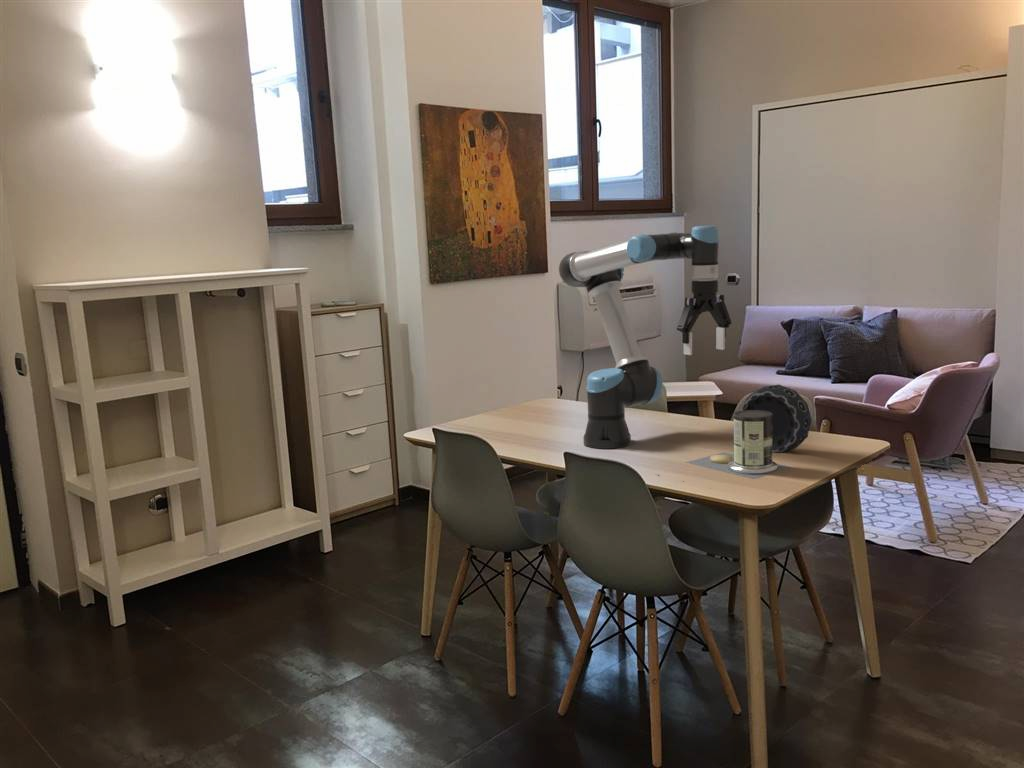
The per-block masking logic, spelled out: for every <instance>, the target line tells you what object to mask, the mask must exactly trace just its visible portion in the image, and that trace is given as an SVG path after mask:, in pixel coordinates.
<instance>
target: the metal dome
mask: <svg viewBox="0 0 1024 768" xmlns="http://www.w3.org/2000/svg"><path fill="white" fill-rule="evenodd" d="M772 463H773V465H772V466H771V467H768V468H763V469H746V468H740V467H737V466H735V465H734V460H733V461H730V462H729V463H728V469H729V470H730V471H732V472H735V473H740V474H750V475H760V474H768V473H772V472H775V471H777V464H778V463H776V462H775V461H773V460H772ZM772 474H773V473H772Z"/></svg>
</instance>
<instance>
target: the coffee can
mask: <svg viewBox="0 0 1024 768" xmlns="http://www.w3.org/2000/svg"><path fill="white" fill-rule="evenodd" d="M732 417H733V454H734V465H735V466H737V467H740V468H746V469H763V468H768V467H771V466H772V465H773V463H772V461H773V452H772V417H773V414H772V413H771V412H768V411H762V410H744V411H740V410H739V411H735V412H733V414H732Z"/></svg>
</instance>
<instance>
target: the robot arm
mask: <svg viewBox="0 0 1024 768" xmlns="http://www.w3.org/2000/svg"><path fill="white" fill-rule="evenodd" d="M719 242H720V239H719V229H718V227H717V226H716V225H698V226H697V225H696V226H692V228H691V232H670V233H659V234H640V235H639V234H638V235H635V236H632V237H631V238H629V240H626V241H621V242H618V243H614V244H611V245H608V246H605V247H601V248H598V249H594V250H588V251H586V250H585V251H581V250H580V251H574V252H570V253H567V254H566V255H565V256H564V257H562V259H561V260H560V263H559V266H558V273H559V277H560V279H561V281H562V282H564V283H565V284H566V285H567V286H569V287H572V288H586V291H587V293H588V295H589V297H591V298H594V300H595V304H596V307H597V309H598V313H599V315H600V318H601V321H602V324H603V328H604V331H605V334H606V336H607V340H608V343H609V346H610V349H611V351H612V355H613V358H614V361H615V367H609V368H602V369H598V370H595V371H593V372H591V373H590V374H588V376H587V379H586V395H587V419H588V420H587V423H586V427H585V428H586V429H585V432H584V435H583V445H584V446H585V447H588V448H595V449H616V448H618V449H619V448H623V447H627V446H629V445H631V443H632V436H631V433H630V430H629V428H628V424H627V422H626V417H625V414H626V413H625V409H626V408H630V407H635V406H639V405H643V406H645V405H647V404H649V403H653V402H655V401H656V400H658V398H659V397H660V395H661V392H662V390H663V377H662V375H661V373H660V371H659V370H658V369H657V368H656V367H654V366H650V365H651V364H650V363H649V360H648V358H646V357H643V356H642V353H641V351H640V348H639V344H638V342H637V339H636V336H635V333H634V330H633V327H632V325H631V321H630V317H629V315H628V312H627V309H626V306H625V304H624V303H625V302H624V300H623V297H622V294H621V292H620V289H621V287H622V284H623V283H622V280H623V277H624V275H625V274H624V272H625V268H628V267H630V266H635V265H639V264H644V263H648V262H652V261H653V262H654V261H665V260H678V259H682V260H683V259H687V260H688V259H690V260H691V279H693V280H692V281H691V293H692V295H693V297H685V299H684V307H683V308H682V312H681V315H680V318H679V321H678V323H677V326H676V330H677V331H679V333H680V332H681V333H682V335H681V336H682V338H681V339H682V341H681V342H682V344H683V355H687V356H692V355H693V332H691V331H692V329H693V327H694V325H695V324H696V323H697V320H698V318H699V317H700V315H702V313H707V312H709V313H710V315H711V316H712V319H713V320H714V321H715V323H716V325H717V326H718V327H716V329H715V332H716V333H715V336H716V337H715V339H716V340H715V341H716V342H715V344H716V345H715V349H716V350H721V351H724V350H725V349H726V346H725V345H726V337H727V329H728V328H729V327H730V326H731V325H732V320H731V317H730V314H729V312H728V309H727V306H726V302H725V295H724V294H717V293H718V292H719V281H718V280H717V279H718V278H719Z"/></svg>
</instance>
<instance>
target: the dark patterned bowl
mask: <svg viewBox="0 0 1024 768" xmlns="http://www.w3.org/2000/svg"><path fill="white" fill-rule="evenodd" d="M744 410H762V411H768V412H771V413H772V414H773V417H772V453H785V452H786V453H787V452H790V451H793V450H795V449H797V448H798V447H799V446H800V445H802V443H803V442H804V441H805V440H806V439H807V438H808V436H809V432H810V430H811V424H812V422H813V419H812V417H811V411H810V409H809V403H808V402H807V401H806V400H805V398H803V397H802V396H801V395H800V394H799V392H798V391H797V390H796V389H792V388H790V387H787V386H784V385H781V384H774V385H767V386H762V387H760V388H758V389H757V390H755V391H753V392H751V393H750V394H749V395H748V397H746V399H745V400H744V401H743V404H742V406H741V408H740V410H739V411H744Z"/></svg>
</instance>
